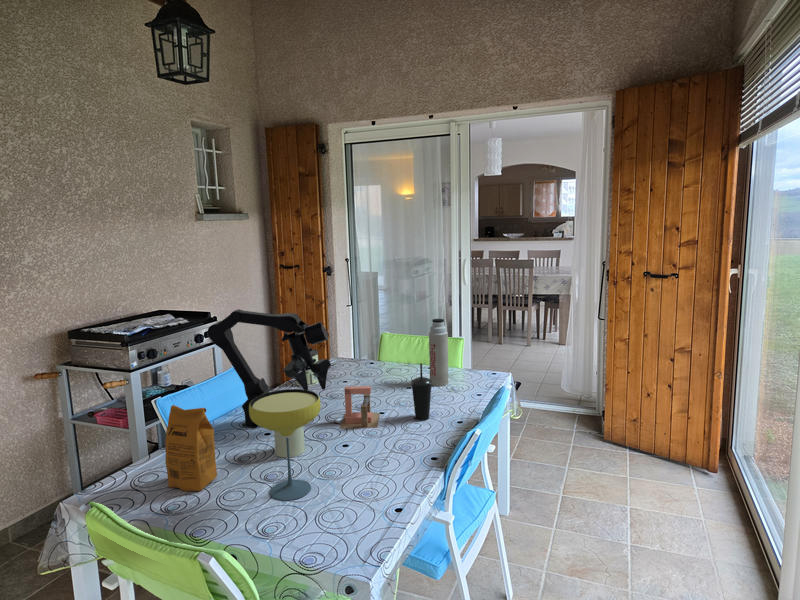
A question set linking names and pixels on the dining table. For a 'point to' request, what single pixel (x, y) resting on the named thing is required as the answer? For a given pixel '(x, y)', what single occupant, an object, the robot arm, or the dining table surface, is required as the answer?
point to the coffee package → (190, 449)
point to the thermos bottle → (438, 353)
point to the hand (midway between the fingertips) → (315, 390)
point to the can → (290, 443)
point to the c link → (351, 416)
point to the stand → (363, 417)
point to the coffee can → (311, 378)
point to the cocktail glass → (286, 428)
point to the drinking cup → (421, 396)
